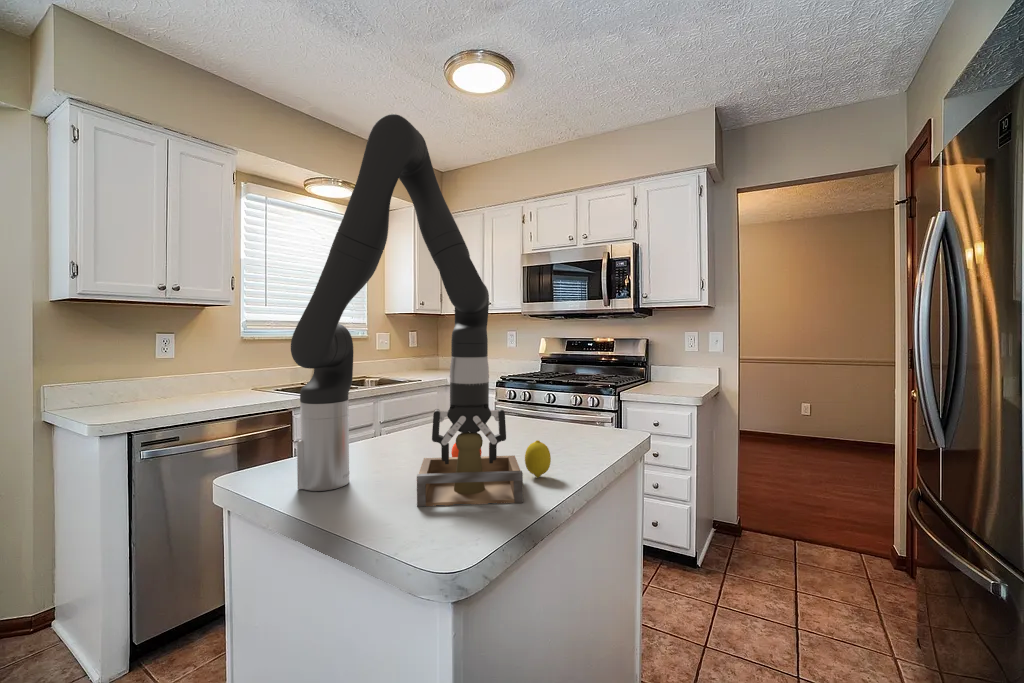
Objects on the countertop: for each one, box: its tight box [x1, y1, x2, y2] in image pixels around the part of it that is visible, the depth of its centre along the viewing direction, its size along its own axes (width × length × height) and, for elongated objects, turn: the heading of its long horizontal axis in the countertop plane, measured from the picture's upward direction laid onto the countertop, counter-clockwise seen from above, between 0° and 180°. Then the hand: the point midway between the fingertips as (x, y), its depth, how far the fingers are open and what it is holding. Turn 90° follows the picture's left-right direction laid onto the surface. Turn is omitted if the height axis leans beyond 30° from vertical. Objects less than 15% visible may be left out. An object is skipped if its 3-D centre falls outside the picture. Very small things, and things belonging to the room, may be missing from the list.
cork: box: [454, 432, 485, 494], centre depth 94 cm, size 6×6×11 cm
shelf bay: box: [416, 455, 524, 508], centre depth 94 cm, size 19×14×6 cm
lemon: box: [524, 439, 552, 478], centre depth 103 cm, size 6×6×8 cm
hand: (469, 462), depth 94 cm, fingers open, 8 cm apart
